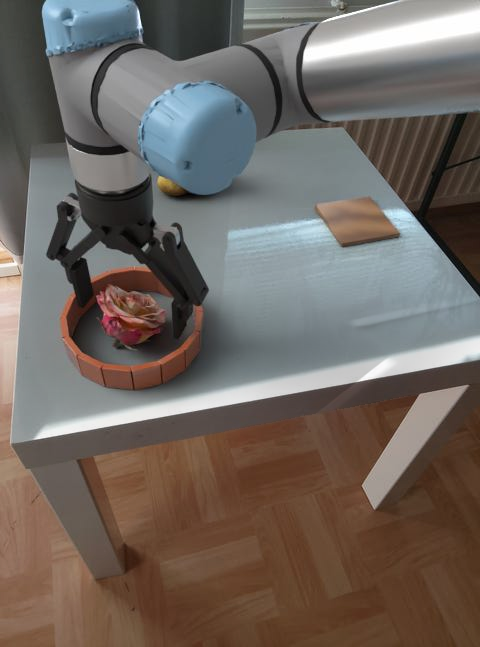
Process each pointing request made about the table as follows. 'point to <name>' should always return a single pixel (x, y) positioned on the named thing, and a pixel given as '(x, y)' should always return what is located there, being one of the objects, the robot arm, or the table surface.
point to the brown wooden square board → (356, 221)
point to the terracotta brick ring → (123, 374)
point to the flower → (129, 316)
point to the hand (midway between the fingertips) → (132, 316)
